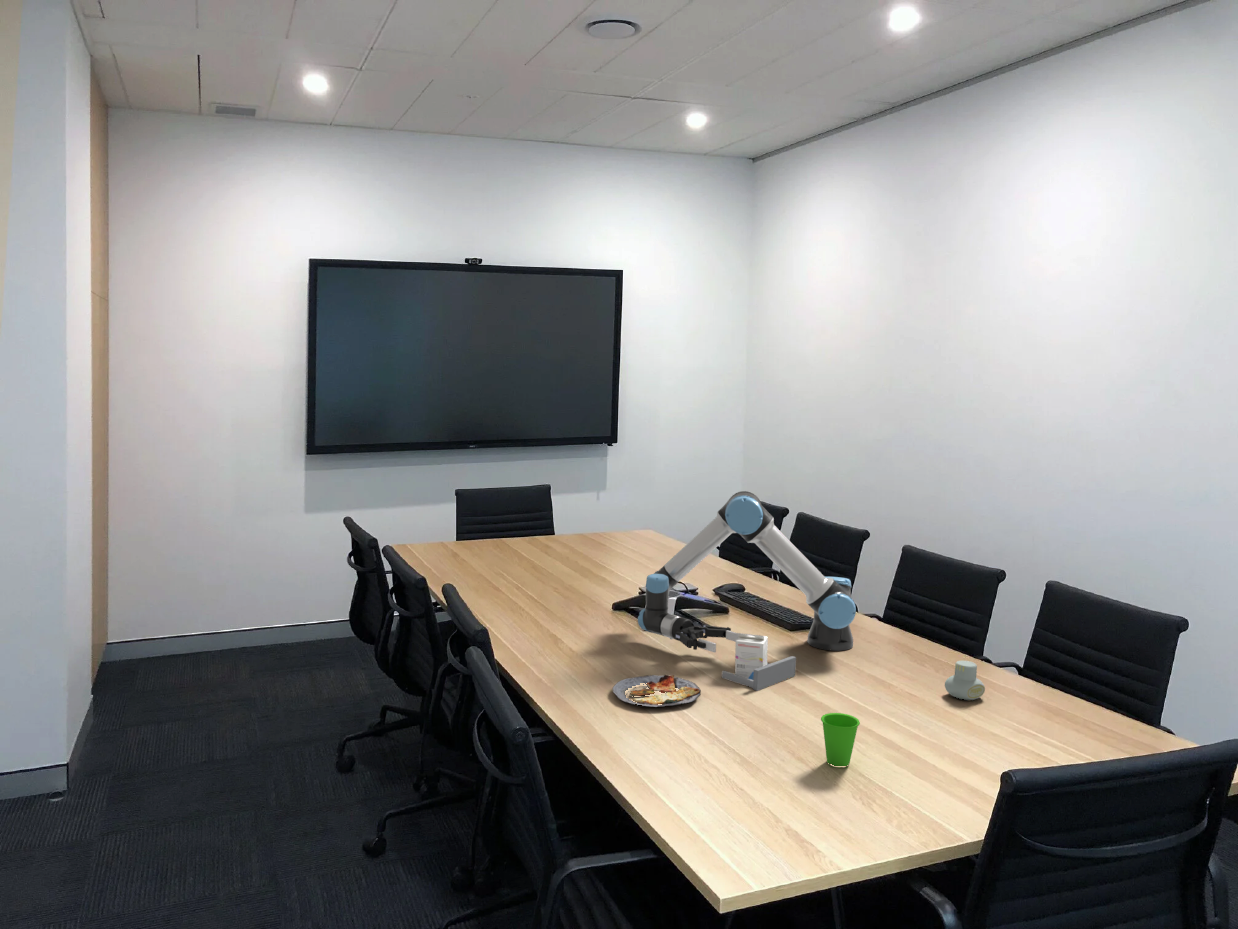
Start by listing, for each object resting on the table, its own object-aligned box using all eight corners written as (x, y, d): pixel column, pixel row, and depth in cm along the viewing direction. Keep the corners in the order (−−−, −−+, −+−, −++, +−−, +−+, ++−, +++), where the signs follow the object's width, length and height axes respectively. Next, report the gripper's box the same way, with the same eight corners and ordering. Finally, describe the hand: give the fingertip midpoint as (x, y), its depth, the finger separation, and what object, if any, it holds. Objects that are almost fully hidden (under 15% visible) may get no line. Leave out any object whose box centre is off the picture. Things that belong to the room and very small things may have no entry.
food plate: (679, 677, 287) (680, 666, 286) (715, 705, 265) (715, 693, 265) (601, 688, 278) (601, 677, 277) (631, 718, 256) (631, 706, 256)
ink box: (767, 673, 293) (769, 630, 291) (762, 681, 285) (764, 638, 283) (739, 669, 296) (741, 627, 294) (734, 678, 288) (735, 634, 286)
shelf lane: (795, 676, 290) (796, 657, 290) (757, 691, 277) (758, 671, 276) (757, 665, 300) (758, 646, 299) (719, 678, 287) (720, 659, 286)
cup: (814, 756, 233) (816, 713, 231) (850, 755, 234) (852, 712, 232) (825, 772, 224) (827, 727, 223) (862, 772, 225) (865, 727, 223)
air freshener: (961, 704, 270) (963, 670, 269) (939, 695, 277) (941, 661, 276) (988, 699, 275) (991, 665, 274) (966, 689, 282) (968, 656, 281)
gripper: (702, 632, 319) (753, 647, 304) (651, 647, 302) (702, 663, 287) (703, 610, 318) (754, 624, 304) (652, 624, 301) (703, 639, 286)
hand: (729, 643), depth 295 cm, fingers open, 13 cm apart
